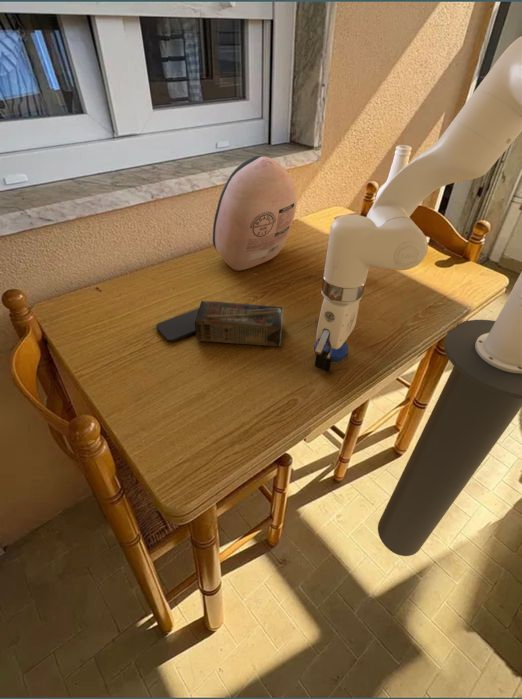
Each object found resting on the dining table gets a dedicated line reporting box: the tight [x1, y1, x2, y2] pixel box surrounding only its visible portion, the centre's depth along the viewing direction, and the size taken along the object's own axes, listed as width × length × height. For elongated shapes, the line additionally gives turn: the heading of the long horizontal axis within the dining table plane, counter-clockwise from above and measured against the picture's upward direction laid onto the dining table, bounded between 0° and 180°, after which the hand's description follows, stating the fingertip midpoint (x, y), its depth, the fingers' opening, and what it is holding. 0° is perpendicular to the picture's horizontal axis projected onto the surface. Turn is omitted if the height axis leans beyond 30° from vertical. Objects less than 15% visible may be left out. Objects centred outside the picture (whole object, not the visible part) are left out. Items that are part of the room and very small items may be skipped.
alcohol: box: [374, 144, 413, 202], centre depth 109 cm, size 9×9×30 cm
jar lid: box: [313, 339, 350, 364], centre depth 79 cm, size 7×7×2 cm
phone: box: [156, 308, 199, 343], centre depth 90 cm, size 7×1×15 cm
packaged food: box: [212, 155, 298, 272], centre depth 103 cm, size 22×20×30 cm
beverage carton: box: [195, 300, 284, 347], centre depth 85 cm, size 8×19×7 cm, turn 86°
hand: (329, 357), depth 81 cm, fingers closed on jar lid, 6 cm apart
